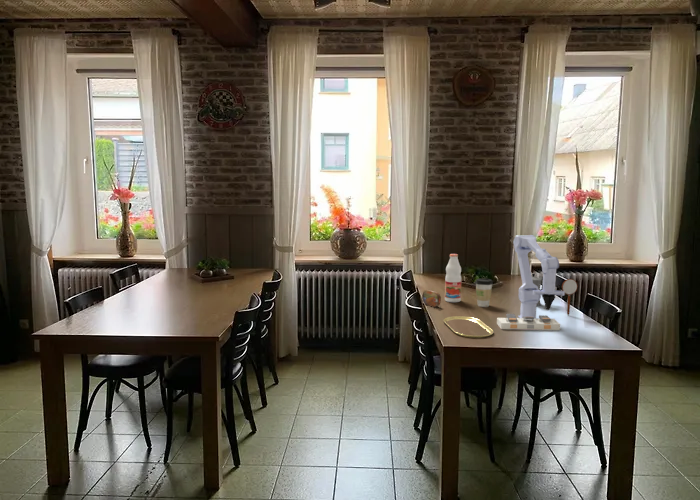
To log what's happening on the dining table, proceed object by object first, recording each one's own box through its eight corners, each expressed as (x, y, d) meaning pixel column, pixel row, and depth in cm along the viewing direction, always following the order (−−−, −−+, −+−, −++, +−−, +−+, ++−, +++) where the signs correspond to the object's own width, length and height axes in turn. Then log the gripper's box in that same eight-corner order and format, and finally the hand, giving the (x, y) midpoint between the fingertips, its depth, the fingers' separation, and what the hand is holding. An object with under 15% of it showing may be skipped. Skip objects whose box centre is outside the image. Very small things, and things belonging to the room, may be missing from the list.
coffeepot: (527, 306, 304) (528, 275, 302) (517, 303, 313) (518, 272, 311) (550, 304, 309) (551, 274, 306) (539, 301, 318) (541, 271, 315)
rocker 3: (538, 317, 266) (538, 315, 265) (547, 317, 265) (547, 315, 265) (542, 320, 260) (542, 318, 259) (550, 320, 259) (550, 318, 259)
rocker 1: (506, 315, 267) (506, 313, 266) (514, 315, 266) (514, 313, 266) (508, 321, 261) (508, 319, 261) (516, 321, 261) (517, 319, 260)
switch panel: (496, 323, 269) (497, 315, 269) (553, 324, 268) (554, 316, 267) (501, 329, 259) (501, 321, 259) (560, 330, 258) (560, 322, 257)
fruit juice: (459, 299, 323) (460, 253, 319) (461, 302, 314) (463, 255, 310) (443, 298, 324) (445, 253, 320) (445, 302, 315) (446, 255, 311)
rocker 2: (522, 318, 266) (522, 316, 266) (530, 318, 266) (530, 316, 266) (525, 319, 260) (525, 316, 260) (533, 319, 260) (533, 317, 260)
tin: (421, 302, 314) (421, 288, 313) (426, 302, 316) (426, 288, 314) (437, 308, 301) (437, 293, 300) (441, 307, 302) (442, 293, 301)
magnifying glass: (561, 316, 283) (563, 279, 280) (559, 315, 285) (561, 278, 282) (576, 315, 284) (578, 278, 281) (574, 315, 286) (577, 278, 283)
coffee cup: (474, 303, 313) (475, 278, 311) (491, 304, 311) (492, 278, 309) (474, 307, 303) (475, 281, 301) (492, 308, 301) (493, 281, 299)
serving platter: (474, 318, 280) (474, 315, 280) (499, 338, 246) (499, 335, 246) (439, 319, 278) (439, 316, 278) (459, 339, 244) (459, 336, 244)
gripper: (536, 283, 254) (534, 311, 256) (567, 284, 253) (565, 311, 255) (532, 280, 261) (530, 307, 263) (562, 281, 260) (561, 308, 262)
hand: (547, 309), depth 260 cm, fingers closed
